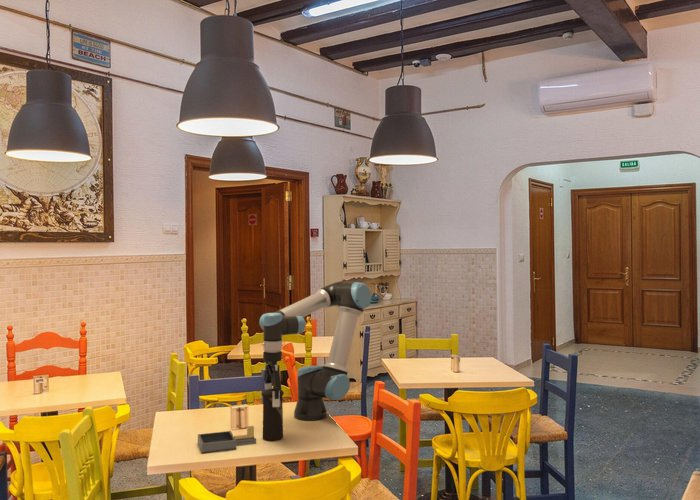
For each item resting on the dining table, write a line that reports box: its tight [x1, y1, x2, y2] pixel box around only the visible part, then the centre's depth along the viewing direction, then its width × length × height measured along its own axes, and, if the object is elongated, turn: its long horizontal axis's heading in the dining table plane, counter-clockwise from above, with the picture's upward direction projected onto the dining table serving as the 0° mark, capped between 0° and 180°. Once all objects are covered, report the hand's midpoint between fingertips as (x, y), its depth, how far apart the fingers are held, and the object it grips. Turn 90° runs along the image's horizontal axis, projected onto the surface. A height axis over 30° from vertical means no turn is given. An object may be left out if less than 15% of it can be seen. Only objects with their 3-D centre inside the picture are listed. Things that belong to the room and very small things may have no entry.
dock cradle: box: [197, 430, 237, 454], centre depth 242 cm, size 13×13×4 cm
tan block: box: [233, 425, 255, 440], centre depth 246 cm, size 8×2×5 cm, turn 111°
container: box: [261, 388, 285, 442], centre depth 252 cm, size 9×9×20 cm
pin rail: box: [236, 437, 257, 447], centre depth 246 cm, size 8×4×2 cm, turn 111°
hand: (272, 402), depth 251 cm, fingers open, 13 cm apart
